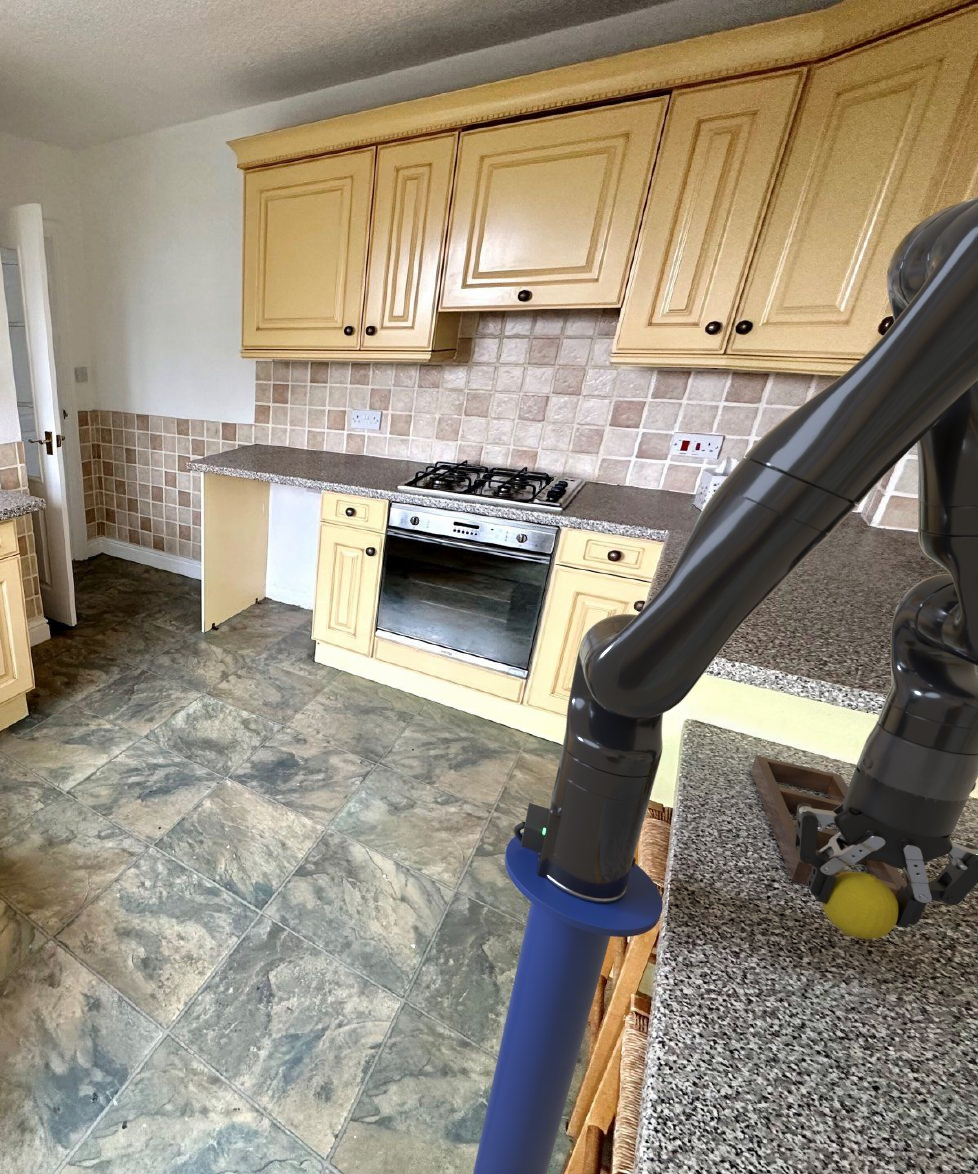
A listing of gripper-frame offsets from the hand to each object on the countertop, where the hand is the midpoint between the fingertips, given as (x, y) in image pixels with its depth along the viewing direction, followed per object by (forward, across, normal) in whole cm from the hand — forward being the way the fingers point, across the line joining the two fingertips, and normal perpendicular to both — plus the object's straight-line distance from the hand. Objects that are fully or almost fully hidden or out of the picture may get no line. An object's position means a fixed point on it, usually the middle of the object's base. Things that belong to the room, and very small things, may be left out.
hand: (857, 908), depth 68 cm
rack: (+5, -2, -23) cm, 24 cm away
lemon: (+4, 0, 0) cm, 4 cm away
